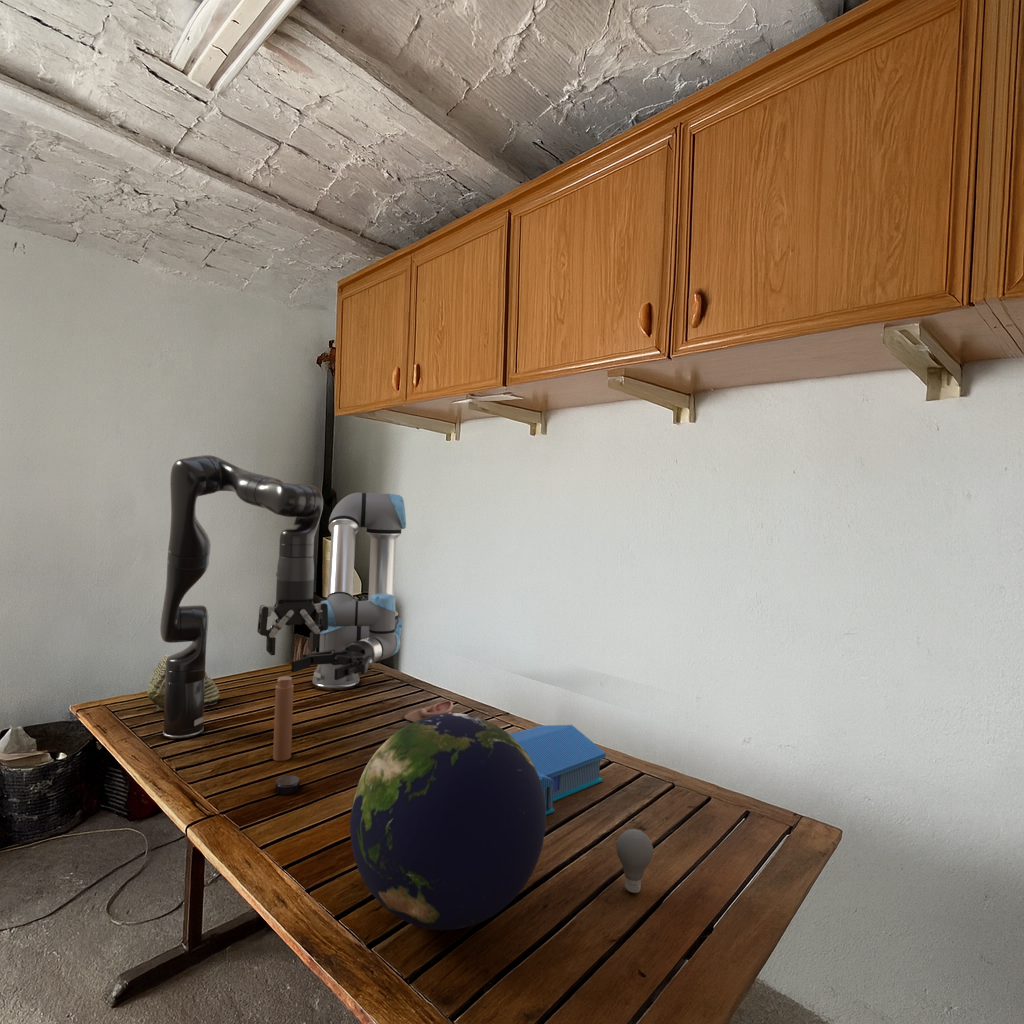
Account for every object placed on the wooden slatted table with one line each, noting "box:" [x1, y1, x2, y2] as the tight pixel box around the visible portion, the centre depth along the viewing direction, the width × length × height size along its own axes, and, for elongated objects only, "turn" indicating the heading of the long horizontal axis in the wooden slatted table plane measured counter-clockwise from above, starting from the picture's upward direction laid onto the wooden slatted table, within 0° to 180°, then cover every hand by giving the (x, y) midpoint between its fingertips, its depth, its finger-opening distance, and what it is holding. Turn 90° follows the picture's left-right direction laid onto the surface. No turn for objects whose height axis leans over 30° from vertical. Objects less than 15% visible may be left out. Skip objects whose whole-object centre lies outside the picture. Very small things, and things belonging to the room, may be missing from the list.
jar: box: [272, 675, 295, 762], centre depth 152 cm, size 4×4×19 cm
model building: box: [509, 724, 607, 816], centre depth 141 cm, size 39×24×10 cm, turn 132°
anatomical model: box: [403, 700, 454, 723], centre depth 184 cm, size 13×4×12 cm
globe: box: [349, 712, 547, 931], centre depth 98 cm, size 30×30×30 cm
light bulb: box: [615, 828, 654, 894], centre depth 106 cm, size 6×6×10 cm
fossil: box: [147, 654, 221, 712], centre depth 185 cm, size 9×18×15 cm, turn 132°
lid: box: [275, 774, 300, 796], centre depth 136 cm, size 5×5×2 cm
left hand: (292, 652), depth 136 cm, fingers open, 8 cm apart
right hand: (313, 670), depth 162 cm, fingers open, 13 cm apart
